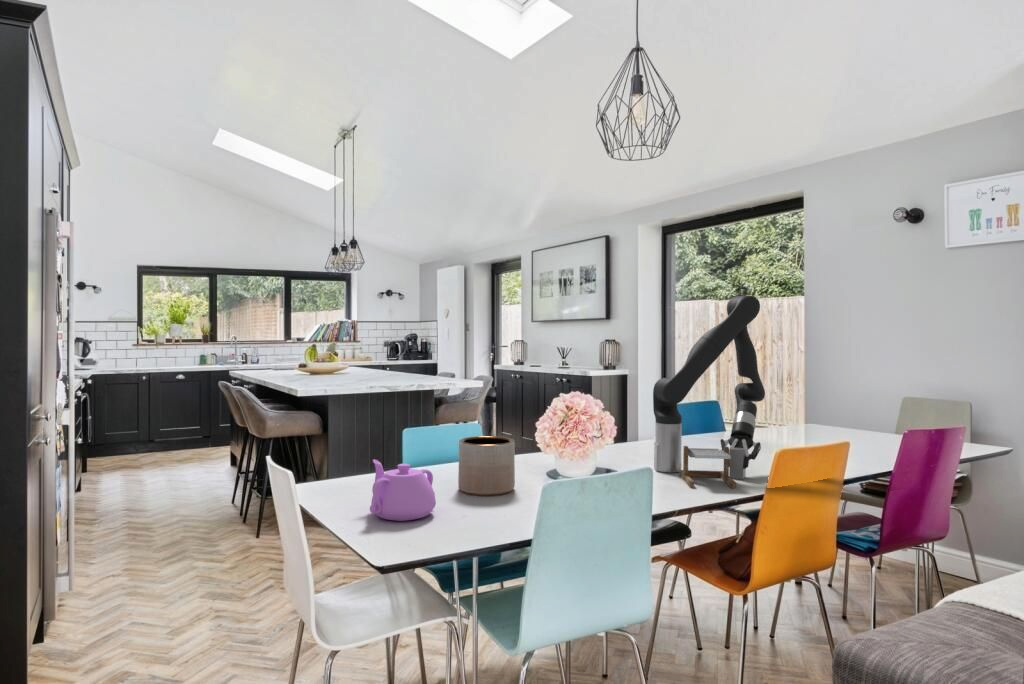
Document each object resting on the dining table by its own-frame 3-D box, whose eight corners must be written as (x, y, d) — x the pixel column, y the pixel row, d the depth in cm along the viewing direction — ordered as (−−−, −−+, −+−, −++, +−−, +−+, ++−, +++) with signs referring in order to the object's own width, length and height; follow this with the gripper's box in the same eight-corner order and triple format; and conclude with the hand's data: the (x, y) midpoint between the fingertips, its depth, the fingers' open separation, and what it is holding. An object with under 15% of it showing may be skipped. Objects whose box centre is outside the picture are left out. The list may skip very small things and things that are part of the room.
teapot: (402, 499, 196) (402, 452, 196) (454, 512, 182) (455, 462, 182) (340, 515, 179) (340, 464, 179) (393, 530, 165) (393, 475, 165)
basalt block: (729, 478, 227) (729, 449, 227) (732, 475, 231) (732, 447, 231) (743, 479, 225) (743, 450, 225) (745, 477, 229) (745, 448, 229)
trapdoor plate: (686, 455, 228) (686, 446, 228) (719, 455, 227) (719, 447, 227) (695, 464, 213) (695, 455, 213) (730, 464, 212) (730, 455, 212)
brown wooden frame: (680, 475, 230) (680, 442, 230) (722, 476, 229) (723, 443, 229) (690, 487, 213) (690, 452, 212) (736, 489, 211) (736, 453, 211)
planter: (512, 497, 199) (513, 445, 199) (454, 496, 200) (454, 444, 200) (516, 484, 217) (516, 436, 216) (462, 482, 218) (462, 435, 218)
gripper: (721, 419, 238) (713, 458, 227) (763, 422, 231) (757, 462, 220) (724, 432, 242) (716, 470, 232) (765, 435, 235) (759, 475, 225)
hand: (736, 466), depth 226 cm, fingers closed on basalt block, 4 cm apart
